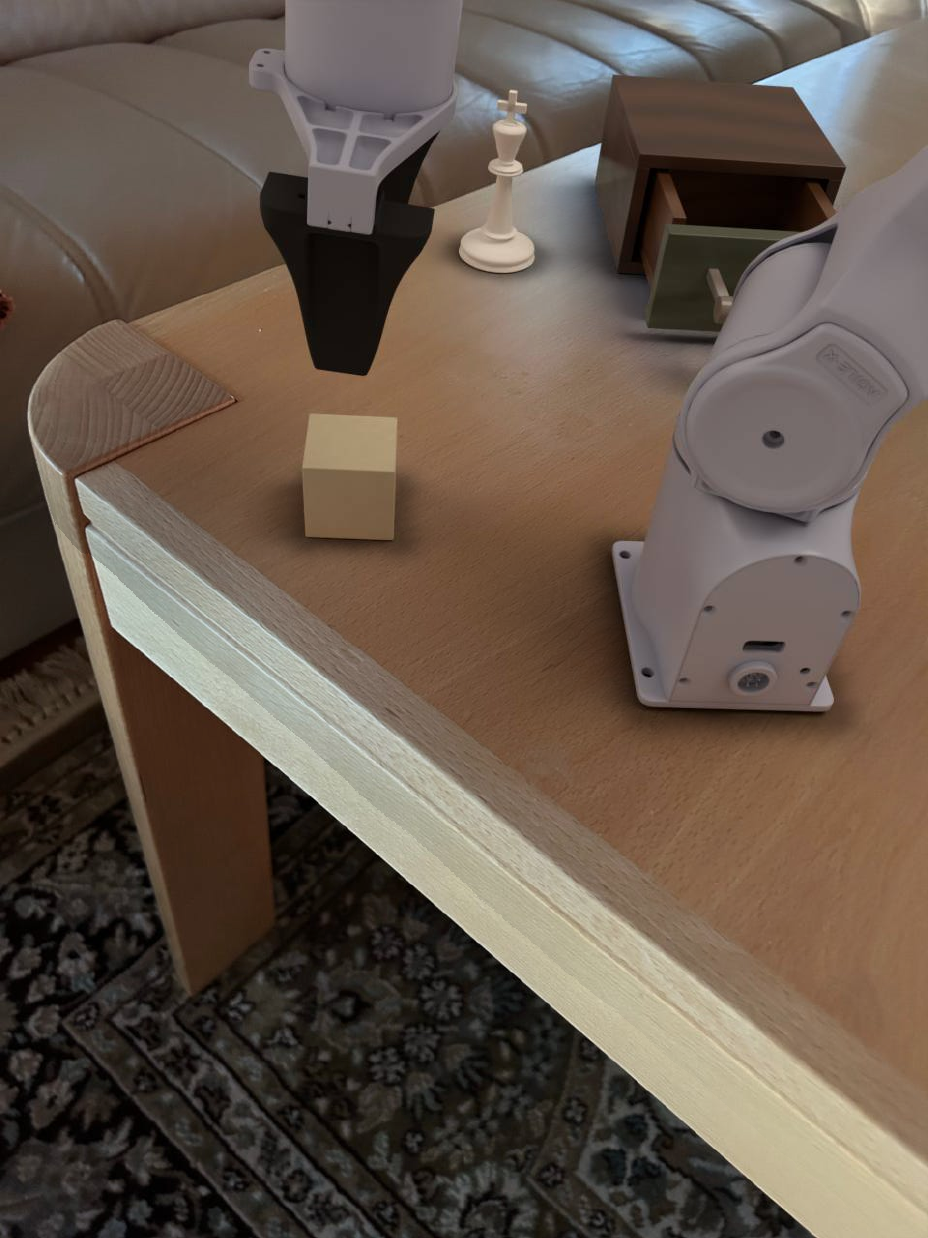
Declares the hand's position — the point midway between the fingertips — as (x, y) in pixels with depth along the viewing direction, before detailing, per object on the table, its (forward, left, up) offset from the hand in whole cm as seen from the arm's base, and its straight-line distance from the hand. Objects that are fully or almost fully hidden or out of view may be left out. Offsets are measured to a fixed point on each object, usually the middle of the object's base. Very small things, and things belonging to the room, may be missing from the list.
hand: (353, 313), depth 42 cm
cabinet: (+30, -22, -10) cm, 38 cm away
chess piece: (+25, -8, -10) cm, 28 cm away
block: (-1, 0, -10) cm, 10 cm away
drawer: (+19, -22, -9) cm, 30 cm away
